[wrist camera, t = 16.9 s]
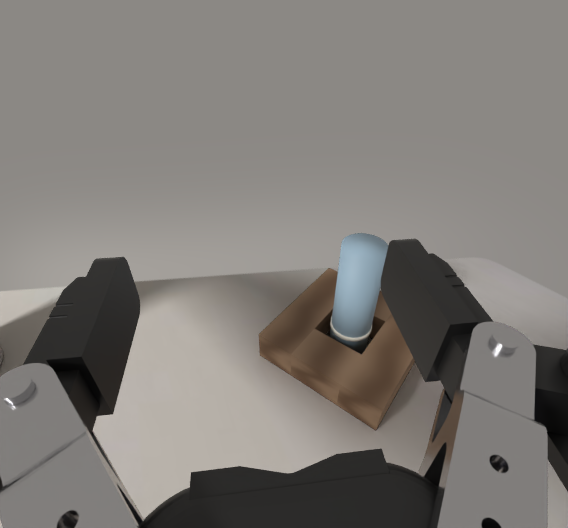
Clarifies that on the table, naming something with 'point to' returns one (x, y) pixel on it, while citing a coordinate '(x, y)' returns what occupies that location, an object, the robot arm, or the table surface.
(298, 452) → the table surface
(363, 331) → the peg
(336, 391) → the socket block
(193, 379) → the table surface
